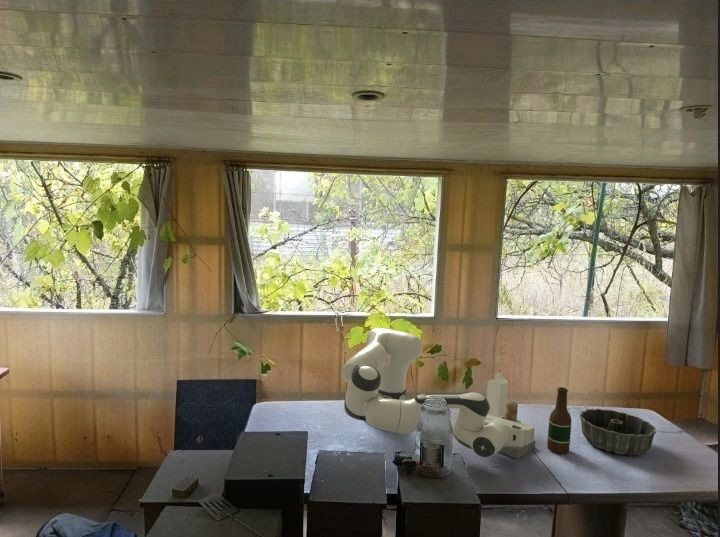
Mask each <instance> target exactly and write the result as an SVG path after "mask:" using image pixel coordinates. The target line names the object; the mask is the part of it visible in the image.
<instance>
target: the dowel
mask: <svg viewBox="0 0 720 537" xmlns="http://www.w3.org/2000/svg"><path fill="white" fill-rule="evenodd" d="M518 404H519V403H517V402H516V401H512V400H507V402H506V405H505V419H506V420H510V421H514V422H516V420H518V408H519V407H518Z"/></svg>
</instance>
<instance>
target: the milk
mask: <svg viewBox="0 0 720 537" xmlns="http://www.w3.org/2000/svg"><path fill="white" fill-rule="evenodd" d="M508 385H509V381H508V380H506V379H505V378H504V377H503V372H500V373H498V374H497V373H496V374H494V378H493V379H489V380H487V391H486V399H487V401H488V403H489V405H490V409H489V412H488V414H487V415H491V416H495V417H501V416H504V417H505V405H506V402H507V401H508V387H509V386H508Z"/></svg>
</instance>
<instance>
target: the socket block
mask: <svg viewBox="0 0 720 537" xmlns="http://www.w3.org/2000/svg"><path fill="white" fill-rule="evenodd" d="M534 447H535V448H536V439H535V438H532V440H530V441H529V442H528V443H524V446H523V447H515V446H504V447H503V448H502V449H501V450H500V451H499V452H498V453H502V454H504V455H507V456H510V457H512V458H514V457H515V459H517V458H518V459H519V458H521V457H523V456H524V455H525V454H527V453H529V452H530V451H532V450H533V449H534ZM523 454H524V455H523ZM520 456H521V457H520Z"/></svg>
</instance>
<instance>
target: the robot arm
mask: <svg viewBox="0 0 720 537" xmlns="http://www.w3.org/2000/svg"><path fill="white" fill-rule="evenodd" d="M365 340H366V346H364V347H363V348H362V349H360V350H358V351H357V352H356V353H355V354H353V355H352V356H351V357H350V358H349V359H348V360H347V361H346V362H345V363H344V364H343V366H342V369H341V376H342V378H343V380H344V381H345V382H346V383H347V384H348V385H347V389H346V393H345V399H344V401H343V402H344V405H343V406H344V412H345V413H346V414H347V415H348V416H349V417H351V418H352V419H354V420H356V421H366V423H367V424H368V425H370V426H372V427H373V428H377V429H379V430H383V431H387V432H390V433H395V434H401V435H402V434H403V435H406V434H407V435H408V434H409V435H410V434H412V433H414V432H416V431H417V430H418V429H417V425H418V422H419V420H420V414H421V407H422V405H423V403H424V402H425V401H424V400H426V399H427V397H430V396H436V397H441V398H444V399H445V400H446V402H447V404H448V408H447V409H458V411H457V414H456V418H455V419H454V420H455V421H454V424H453V428H452V431H453V432H452V434H453V437H454V438H455V440H456V441H457V442H458V443H459V444H460V445H462V446H463V447H466V448H468V449H470V450H472V451H473V452H474V453H475V454H476V455H477V456H479V457H480V458H486V459H487V458H491V457H493V456H495V455H497V454H498V453H500V452H499V451H500V450H501V449H502V448H503V447H504V446H515V447H523V446H524V443H528V442H529V441H530V440H532V439H534V437H535V427H534V426H532V425H528V424H524V423H521V420H519V419H517V420H516V422H514V421H510V420H506V419H505V417H504V416H501V417H495V416H491V415H487V414H488V412H489V409H490V405H489V403H488V401H487V397H486V396H485V395H483V394H482V393H480V392H476V391H468V392H467V391H466V392H461V393H460V392H459V393H457V392H456V393H455V392H450V393H449V392H446V393H445V392H444V393H441V392H434V393H433V392H432V393H431V392H430V393H429V392H428V393H420V394H417V395H416V396H415V397H413V398H410V399H406V397H407V389H406V381H407V380H406V378H407V373H408V369H409V367H410V365H411V364H412V362H414V361H416V360H417V359H418V358H419V357H420V356H421V354H422V352H423V348H424V346H423V341H422V339H421V337H419V336H417V335H415V334H412V333H410V332H407V331H401V330H395V329H392V328H390V329H389V328H385V327H375V328H372V329H370V331H369V332H368V333H367V336H366V339H365ZM389 357H390V360H389ZM388 362H389V363H388ZM416 429H417V430H416Z"/></svg>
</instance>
